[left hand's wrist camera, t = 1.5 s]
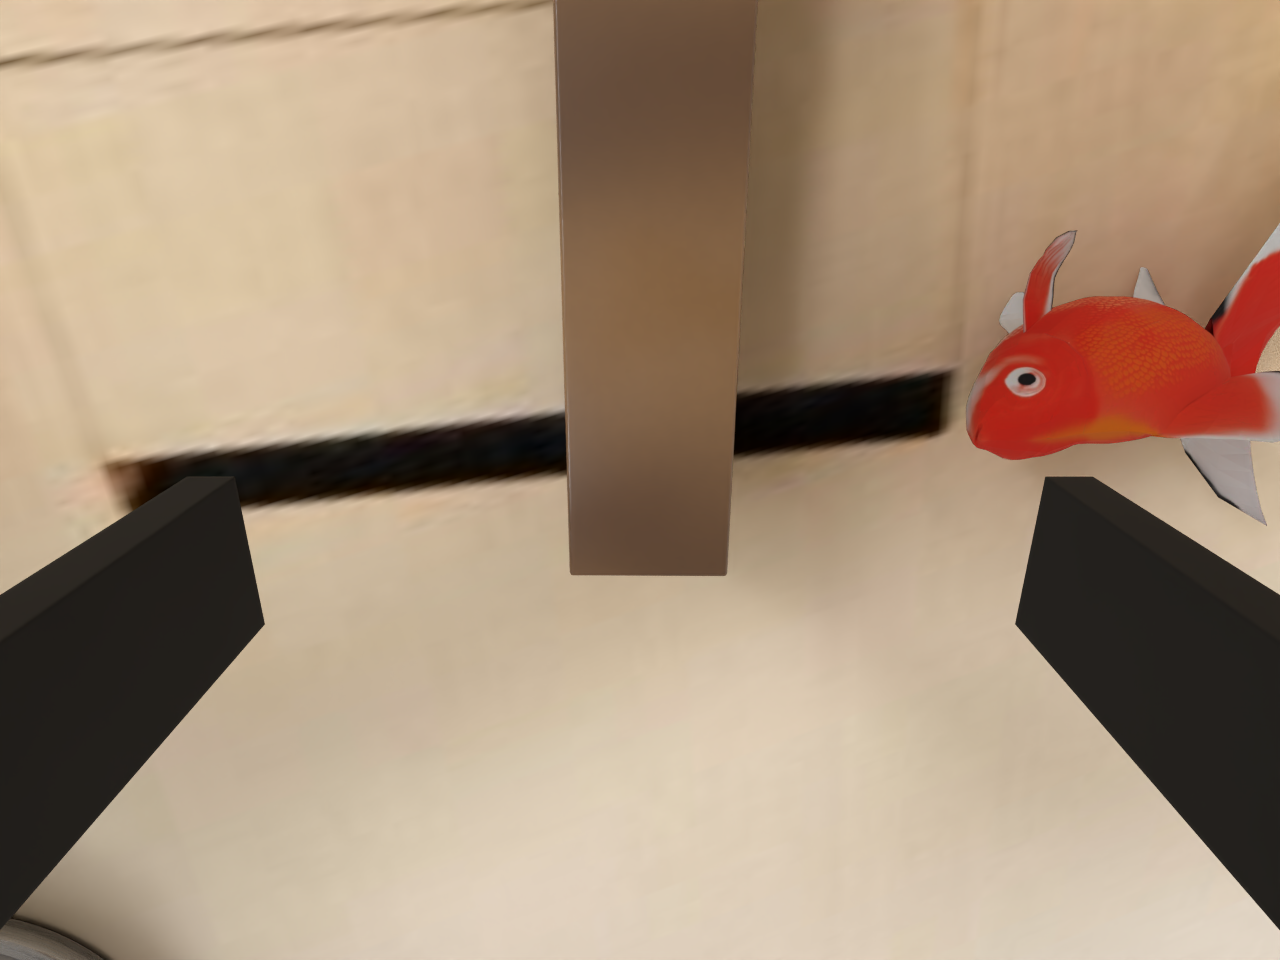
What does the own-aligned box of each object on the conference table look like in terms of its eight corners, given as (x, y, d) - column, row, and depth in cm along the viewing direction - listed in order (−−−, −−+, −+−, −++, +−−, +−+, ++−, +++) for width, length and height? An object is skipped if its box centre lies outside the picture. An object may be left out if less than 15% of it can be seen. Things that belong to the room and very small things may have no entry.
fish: (967, 81, 20) (1365, 230, 13) (1300, 90, 26) (1689, 196, 19) (849, 414, 27) (1073, 624, 20) (1135, 360, 33) (1381, 508, 26)
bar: (704, 479, 29) (727, 577, 22) (587, 478, 29) (569, 576, 22) (737, -345, 21) (793, -643, 13) (570, -347, 21) (533, -647, 13)
